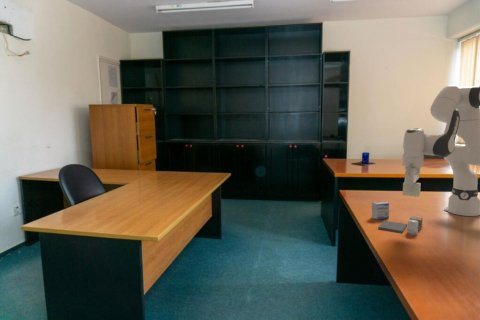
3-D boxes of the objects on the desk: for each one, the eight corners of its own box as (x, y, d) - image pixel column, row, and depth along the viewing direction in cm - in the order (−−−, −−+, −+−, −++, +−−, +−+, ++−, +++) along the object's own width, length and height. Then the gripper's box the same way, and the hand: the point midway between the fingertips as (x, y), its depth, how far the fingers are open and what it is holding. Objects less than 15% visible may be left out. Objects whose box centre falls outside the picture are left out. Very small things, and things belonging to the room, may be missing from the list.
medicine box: (376, 220, 177) (377, 204, 176) (371, 217, 181) (371, 202, 180) (388, 218, 179) (389, 203, 178) (383, 216, 183) (383, 201, 182)
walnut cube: (411, 225, 167) (411, 215, 166) (422, 227, 164) (422, 217, 163) (409, 228, 163) (409, 218, 162) (420, 229, 160) (421, 220, 159)
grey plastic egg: (408, 231, 159) (408, 219, 158) (418, 232, 156) (418, 220, 155) (406, 233, 155) (407, 221, 154) (416, 235, 152) (417, 223, 152)
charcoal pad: (383, 222, 172) (383, 220, 172) (406, 226, 166) (407, 224, 166) (378, 228, 163) (378, 226, 163) (402, 232, 156) (402, 230, 156)
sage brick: (403, 193, 161) (404, 181, 160) (420, 195, 157) (420, 183, 156) (402, 195, 158) (403, 183, 157) (418, 196, 154) (419, 184, 153)
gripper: (417, 165, 145) (415, 195, 147) (422, 160, 162) (421, 187, 164) (401, 164, 149) (400, 194, 151) (408, 159, 166) (407, 186, 167)
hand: (411, 190), depth 157 cm, fingers closed on sage brick, 4 cm apart
